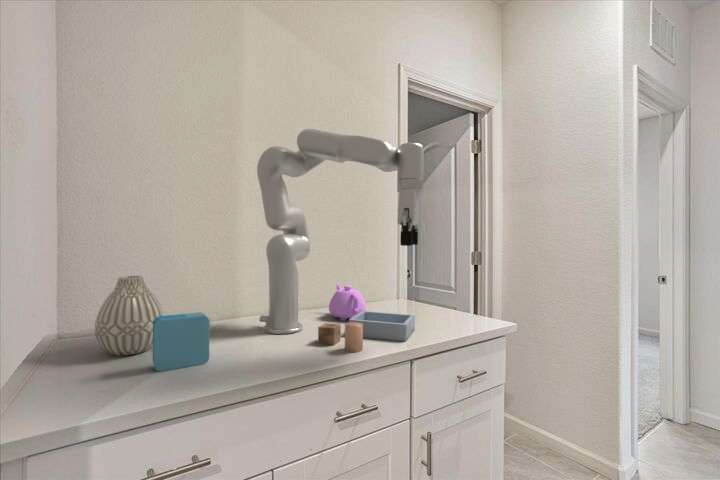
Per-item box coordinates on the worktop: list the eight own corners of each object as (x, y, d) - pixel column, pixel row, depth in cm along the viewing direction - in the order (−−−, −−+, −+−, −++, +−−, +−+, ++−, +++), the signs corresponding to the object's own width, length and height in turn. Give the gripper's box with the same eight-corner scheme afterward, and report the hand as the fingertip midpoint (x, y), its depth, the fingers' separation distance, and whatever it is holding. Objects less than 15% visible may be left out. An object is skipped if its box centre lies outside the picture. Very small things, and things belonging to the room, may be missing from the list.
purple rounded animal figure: (320, 313, 151) (320, 283, 151) (352, 310, 157) (353, 281, 157) (339, 324, 133) (339, 290, 133) (374, 321, 139) (375, 288, 139)
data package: (206, 358, 96) (206, 311, 96) (209, 363, 92) (209, 314, 92) (152, 366, 90) (152, 316, 90) (154, 372, 86) (154, 320, 86)
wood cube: (318, 344, 110) (318, 326, 110) (325, 339, 115) (325, 323, 114) (334, 345, 108) (334, 328, 108) (340, 341, 113) (340, 324, 113)
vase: (91, 349, 103) (91, 275, 102) (156, 338, 113) (156, 272, 112) (98, 365, 90) (98, 282, 90) (170, 352, 101) (170, 277, 100)
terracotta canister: (342, 351, 103) (342, 325, 103) (348, 346, 108) (348, 321, 108) (359, 353, 102) (359, 327, 101) (364, 347, 106) (365, 323, 106)
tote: (348, 335, 119) (348, 319, 119) (362, 325, 132) (362, 310, 132) (406, 341, 113) (406, 324, 113) (414, 329, 127) (415, 315, 127)
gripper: (403, 190, 120) (402, 244, 120) (390, 183, 103) (390, 245, 103) (427, 189, 117) (426, 244, 118) (418, 182, 101) (417, 246, 101)
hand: (409, 245), depth 110 cm, fingers open, 9 cm apart
